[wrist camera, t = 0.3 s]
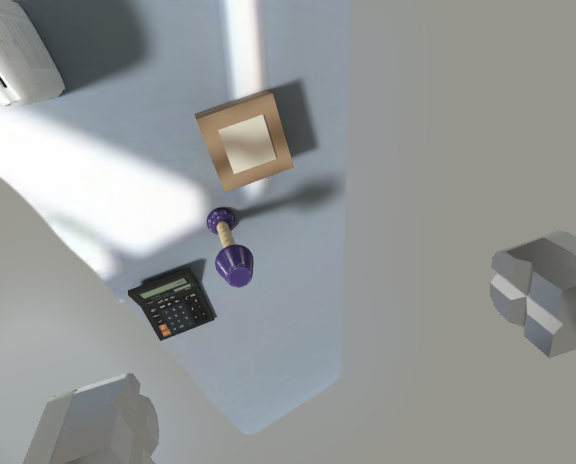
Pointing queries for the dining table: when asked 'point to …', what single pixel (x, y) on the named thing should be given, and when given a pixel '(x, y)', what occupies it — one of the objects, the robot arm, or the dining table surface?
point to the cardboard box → (245, 140)
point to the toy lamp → (230, 250)
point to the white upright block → (24, 61)
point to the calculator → (173, 304)
